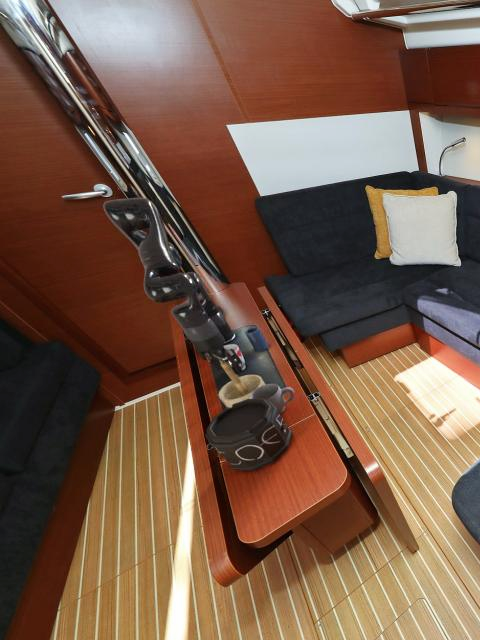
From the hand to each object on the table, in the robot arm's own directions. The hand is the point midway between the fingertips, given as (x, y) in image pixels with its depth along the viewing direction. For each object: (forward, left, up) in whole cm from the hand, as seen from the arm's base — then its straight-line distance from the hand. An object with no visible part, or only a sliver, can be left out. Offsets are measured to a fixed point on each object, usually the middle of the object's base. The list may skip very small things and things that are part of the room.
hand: (229, 371), depth 113 cm
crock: (-33, +12, -15) cm, 38 cm away
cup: (-24, +1, -15) cm, 28 cm away
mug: (+13, +7, -15) cm, 21 cm away
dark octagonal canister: (+28, -2, -15) cm, 32 cm away
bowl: (0, 0, -15) cm, 15 cm away
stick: (0, 0, -14) cm, 14 cm away
